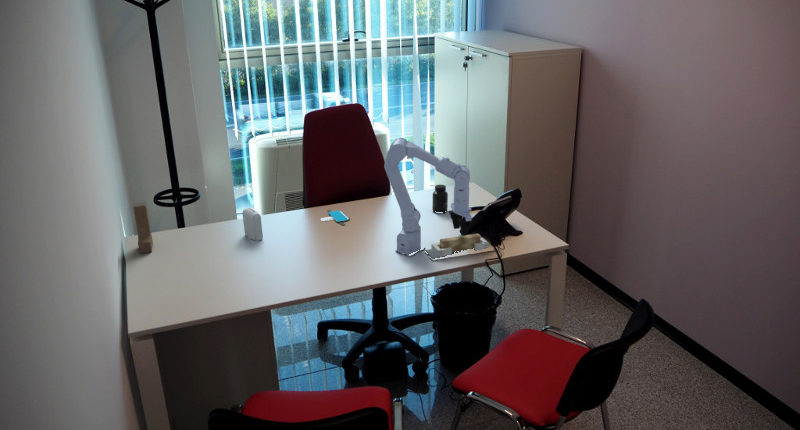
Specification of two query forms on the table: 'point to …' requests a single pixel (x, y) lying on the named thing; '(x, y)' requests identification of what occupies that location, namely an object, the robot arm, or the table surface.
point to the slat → (460, 242)
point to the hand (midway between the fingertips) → (460, 231)
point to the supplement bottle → (440, 199)
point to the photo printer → (252, 224)
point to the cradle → (437, 252)
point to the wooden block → (143, 228)
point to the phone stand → (336, 217)
